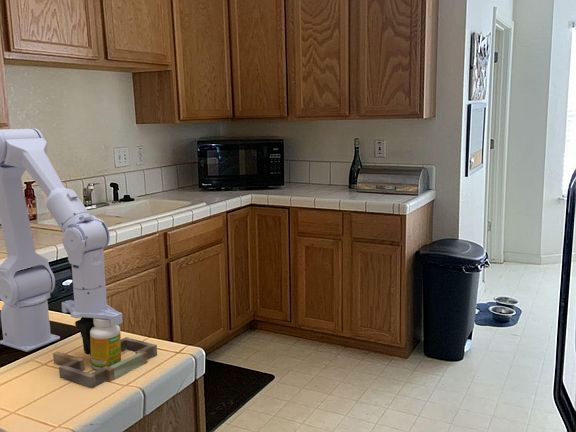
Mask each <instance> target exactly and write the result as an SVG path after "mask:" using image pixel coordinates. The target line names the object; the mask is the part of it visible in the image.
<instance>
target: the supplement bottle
mask: <svg viewBox="0 0 576 432" xmlns="http://www.w3.org/2000/svg"><path fill="white" fill-rule="evenodd" d="M93 323H94V325H95V326H93V327H92V328H91V330H90V347H91V356H90V365H91V367H92V369H94V370H95V371H97V370H99V369H101V368H103V367H105V366H108V367H110V366H112V365H114V364H116V363H118V362H120V361H122V352H121V339H122V338H121V335H122V334H121V327H120V326H119V325H116V326H112V325H111V321H110V320H109V319H101V318H93Z"/></svg>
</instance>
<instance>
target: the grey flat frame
mask: <svg viewBox="0 0 576 432" xmlns="http://www.w3.org/2000/svg"><path fill="white" fill-rule="evenodd" d="M124 351H132V352H134V353H135V354H133V355H131V356H129V357H126V358H125V359H122V360H121V361H120V362H118V363H116V364H114V365H112V366H110V367H108V366H105V367H103V368H101V369H99V370H95V371H93V372H91V373H90V372H87V371H84V370H86V369H85V359H84V358H80V357H77V356H74V355H70V354H67V353H64V352H61V351H55V352H52V358H53V361H52V362H53V364H54V365H59V366H58V371H59V372H58V374H59V379H63V380H65V381H68V382H70V383H71V382H72V383H74V384H77V385H81V386H84V387H86V388H89V389H93V388H95V387H97V386H99V385H101V384H102V383H103V384H104V383H105V382H106V381H109V382H111V381H113V380H116V379H118V378H119V377H122V376H123V375H125V374H127V373H129V372H131V371H134V370H135V369H137V368H139V367H141V366H143V365H144V364H146V363H148V360H149V359H152V358H154V357H155V356H157V355H158V346H157V344H153V343H150V342H147V341H142V340H138V339H134V338H130V337H128V336H127V337H123V338H121V353H122V352H124Z"/></svg>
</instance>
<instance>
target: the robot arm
mask: <svg viewBox="0 0 576 432" xmlns="http://www.w3.org/2000/svg"><path fill="white" fill-rule="evenodd" d="M47 153H48V142H47V141H46V139H45V137H44V135H43V133H42V132H41V131H40V130H39V129H37V128H35V127H29V128H11V129H10V128H9V129H7V128H6V129H5V128H4V129H0V224H1V231H2V236H3V240H4V244H5V245H4V246H5V250H6V251H5V252H6V254H7V255H6V256H7V257H6V259H4V261H3V262H2V263H1V264H0V301H1V302H3V305H2V307H1V309H0V322H1V330H2V338H3V339H1V340H0V345H4V346H5V347H10V348H13V349H16V350H18V351H19V350H20V351H23V352H31V351H33V350H36V349H38V348H40V347H43V346H45V345H48V344H50V343H52V342H56V341H58V340H60V339H61V336H60V335H56V334H54V333H51V324H50V314H49V304H48V303H49V302H48V299H51V294H52V293H53V292H54V290H55V287H56V286H55V285H56V277H55V275H54V273H53V270H52V269H51V266H50V265H49V259H47V258H46V257H44V256H42V255H41V254H39V253H37V252H36V248H35V247H36V246H35V242H34V237H33V232H32V227H31V226H32V225H31V222H30V216H29V211H28V207H27V202H26V197H25V191H24V187H23V186H24V185H23V181H22V177H23V175H24V174H25V172H27V173H28V174H29V175H30V176H31V178H32V179H33V180H34V182H35V183H36V184H37V185H38V187H39V189H41V191H43V194H45V196H46V197H47V199H46V202H45V206H46V208H47V210H48V211H49V213H50V215H51V216H52V218H53V219H54V220H55V222H56V224H57V225H58V227H59V228H60V230H61V231H62V233H63V236H62V238H61V242H62V246H63V248H64V249H65V251H66V254H67V261H68V262H69V264H70V265H71V275H72V287H73V291H72V292H73V300H72V299H69V300H66V301H62V302H61V312H62V313H65V314H67V313H70V317H71V318H75V319H78V320H76V321H75V322H74V326H75V327H76V328H77V330H79V333H80V336H81V339H82V346H83V351H84V353H85V355H86V356H89V355H90V357H91V347H90V330H91V328H92V327H93V326H95V325H94V323H93V318H101V319H109V320H110V321H111V325H112V326H116V325H118V326H119V325H121V324H123V312H119V311H117V310H116V309H114V308H113V307H111V306H110V305H108V302H107V300H108V299H107V287H106V283H107V282H106V272H105V271H106V270H105V269H106V268H105V254H104V249H106V248H107V247H108V246H109V243H110V241H111V239H110V238H111V237H110V235H111V234H110V231H109V229H108V226H107V224H106V221H104V220H102V219H101V218H97V217H96V216H95V215H92V214H91V213H90V211H88V209H87V208H86V206H85V205H84V203H83V202H82V201H81V199H80V198H79V195H78V194H77V193H76V191H75V190H74V189H72V188H67V187H65V186H64V184H63V182H62V180H61V179H60V177H59V175H58V173H57V171H56V169H55V168H54V166H53V164H52V162H51V160H50V159H49V156H48V155H47Z"/></svg>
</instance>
